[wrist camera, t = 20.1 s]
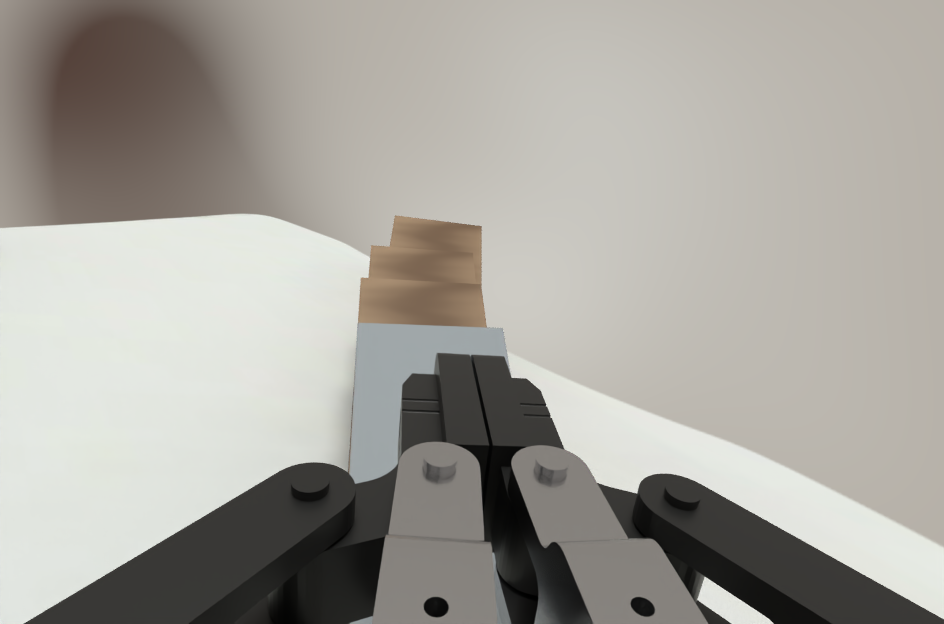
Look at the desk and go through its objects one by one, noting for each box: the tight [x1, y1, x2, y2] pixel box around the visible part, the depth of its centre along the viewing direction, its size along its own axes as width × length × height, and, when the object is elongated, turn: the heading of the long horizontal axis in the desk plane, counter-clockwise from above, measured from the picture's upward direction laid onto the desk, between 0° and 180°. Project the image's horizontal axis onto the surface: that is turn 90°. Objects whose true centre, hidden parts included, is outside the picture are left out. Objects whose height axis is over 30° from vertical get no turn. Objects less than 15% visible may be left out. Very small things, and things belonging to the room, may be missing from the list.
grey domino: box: [349, 323, 511, 624], centre depth 18 cm, size 5×2×10 cm
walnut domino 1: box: [390, 216, 481, 284], centre depth 32 cm, size 5×2×10 cm
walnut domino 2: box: [369, 246, 476, 284], centre depth 27 cm, size 5×2×10 cm
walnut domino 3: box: [348, 278, 487, 473], centre depth 23 cm, size 5×2×10 cm
